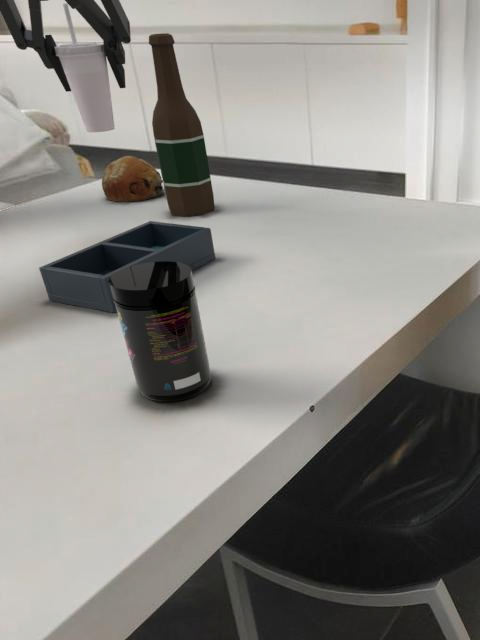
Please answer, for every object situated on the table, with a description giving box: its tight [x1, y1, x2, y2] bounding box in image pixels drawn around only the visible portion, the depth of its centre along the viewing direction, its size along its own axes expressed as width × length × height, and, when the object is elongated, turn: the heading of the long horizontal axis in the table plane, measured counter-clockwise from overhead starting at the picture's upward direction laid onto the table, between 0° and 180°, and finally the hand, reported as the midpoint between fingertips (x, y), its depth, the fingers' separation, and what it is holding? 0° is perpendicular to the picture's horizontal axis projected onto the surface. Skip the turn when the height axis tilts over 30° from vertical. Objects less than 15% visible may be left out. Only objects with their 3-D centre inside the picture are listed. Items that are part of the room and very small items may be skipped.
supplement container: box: [109, 261, 212, 403], centre depth 60 cm, size 7×7×10 cm
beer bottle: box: [148, 32, 216, 218], centre depth 104 cm, size 8×8×24 cm
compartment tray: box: [38, 220, 216, 313], centre depth 85 cm, size 10×19×4 cm, turn 154°
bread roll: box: [101, 155, 164, 203], centre depth 119 cm, size 10×10×8 cm
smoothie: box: [54, 3, 115, 133], centre depth 88 cm, size 6×6×14 cm
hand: (95, 80), depth 92 cm, fingers closed on smoothie, 6 cm apart
